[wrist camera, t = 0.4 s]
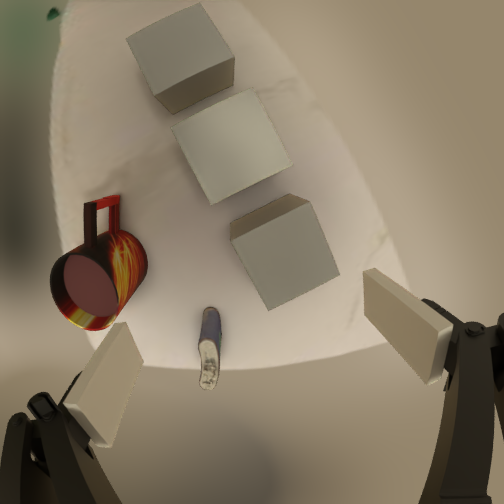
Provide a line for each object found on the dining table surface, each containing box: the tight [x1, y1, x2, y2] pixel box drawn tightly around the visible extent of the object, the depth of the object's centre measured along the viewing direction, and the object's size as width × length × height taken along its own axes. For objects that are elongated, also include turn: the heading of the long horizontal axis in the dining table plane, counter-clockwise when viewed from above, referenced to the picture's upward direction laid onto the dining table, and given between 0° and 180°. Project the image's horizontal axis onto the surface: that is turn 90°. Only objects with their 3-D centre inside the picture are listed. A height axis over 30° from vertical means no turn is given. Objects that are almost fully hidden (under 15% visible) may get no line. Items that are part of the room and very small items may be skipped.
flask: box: [198, 308, 222, 390], centre depth 37 cm, size 9×3×11 cm, turn 175°
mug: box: [50, 195, 148, 331], centre depth 31 cm, size 10×14×12 cm
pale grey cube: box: [126, 3, 235, 114], centre depth 26 cm, size 9×9×10 cm
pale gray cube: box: [170, 87, 293, 206], centre depth 30 cm, size 9×9×10 cm
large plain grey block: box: [230, 194, 340, 311], centre depth 34 cm, size 9×9×10 cm
